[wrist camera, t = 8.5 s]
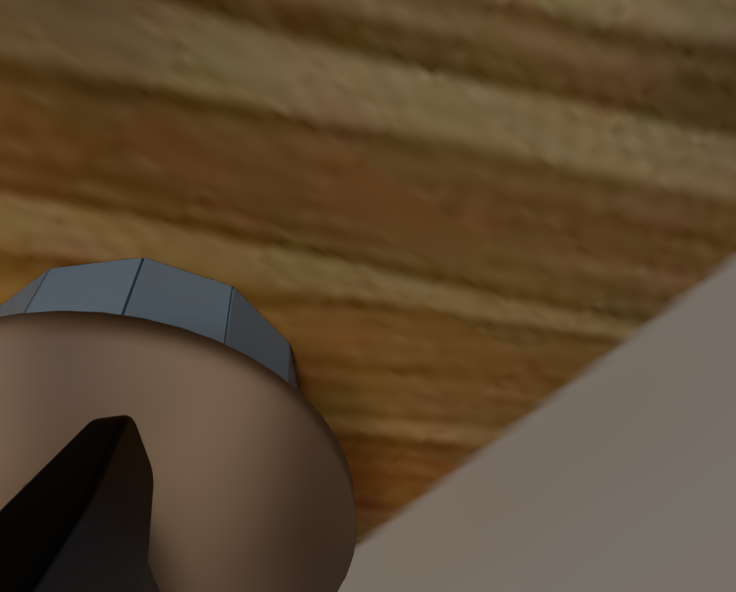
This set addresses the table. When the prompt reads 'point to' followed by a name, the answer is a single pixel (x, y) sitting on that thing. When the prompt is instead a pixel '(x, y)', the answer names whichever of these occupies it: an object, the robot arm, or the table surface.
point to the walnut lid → (186, 447)
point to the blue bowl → (160, 304)
